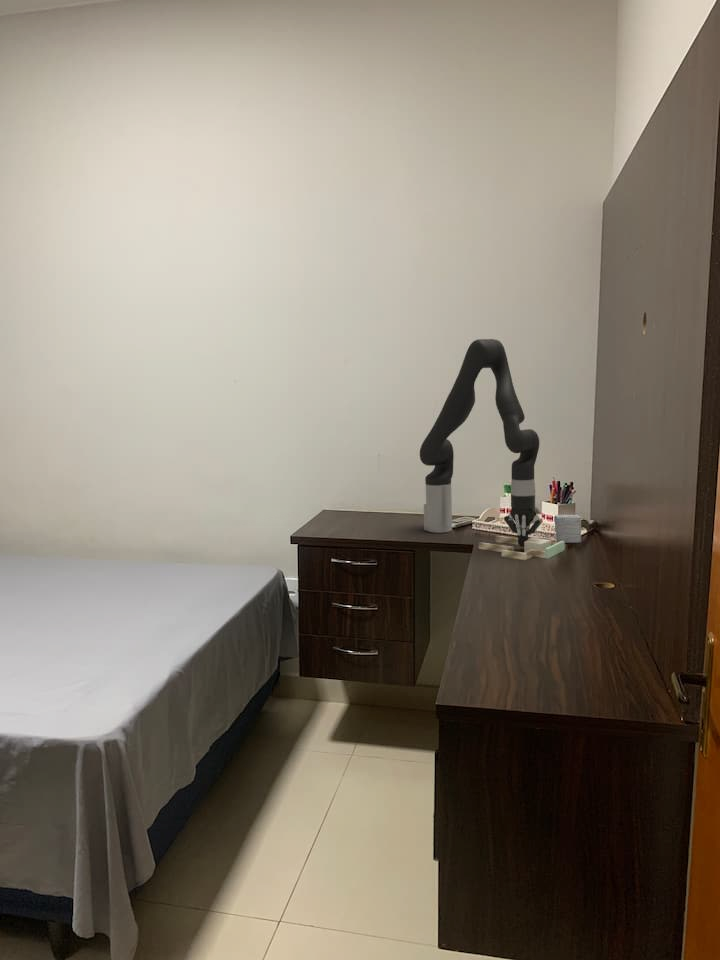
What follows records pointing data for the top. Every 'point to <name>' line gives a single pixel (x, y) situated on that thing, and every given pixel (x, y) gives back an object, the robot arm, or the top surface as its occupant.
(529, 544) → the ivory block
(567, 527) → the medicine box
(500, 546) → the trap track
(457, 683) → the top surface
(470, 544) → the top surface
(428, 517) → the robot arm
